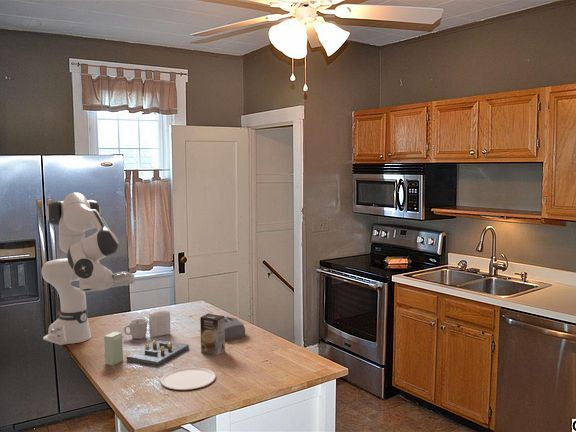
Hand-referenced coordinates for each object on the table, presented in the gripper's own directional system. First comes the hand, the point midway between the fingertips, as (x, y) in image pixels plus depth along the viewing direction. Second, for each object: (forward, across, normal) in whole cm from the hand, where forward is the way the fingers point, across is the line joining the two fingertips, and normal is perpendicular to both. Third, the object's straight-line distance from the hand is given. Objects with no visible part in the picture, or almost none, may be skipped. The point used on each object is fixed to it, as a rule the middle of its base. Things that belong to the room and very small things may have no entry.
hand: (114, 286), depth 215 cm
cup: (+44, +8, +14) cm, 46 cm away
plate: (+2, -26, +42) cm, 49 cm away
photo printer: (+48, -3, +14) cm, 50 cm away
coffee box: (+29, -31, +30) cm, 52 cm away
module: (+16, +8, +28) cm, 33 cm away
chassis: (+24, -8, +27) cm, 37 cm away
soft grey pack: (+51, -34, +19) cm, 64 cm away
